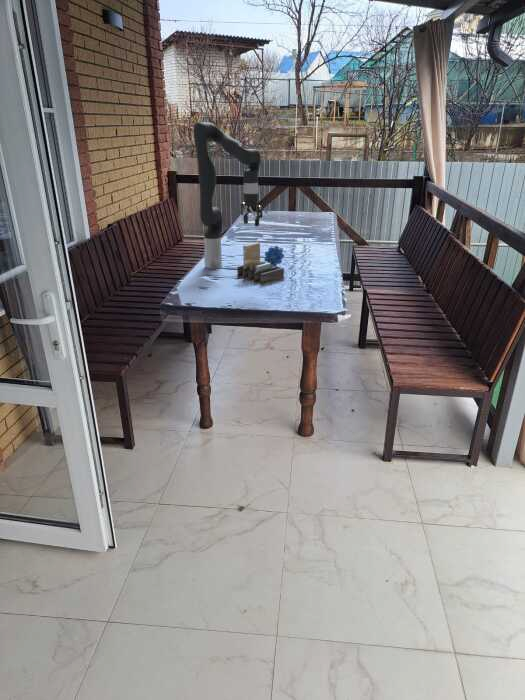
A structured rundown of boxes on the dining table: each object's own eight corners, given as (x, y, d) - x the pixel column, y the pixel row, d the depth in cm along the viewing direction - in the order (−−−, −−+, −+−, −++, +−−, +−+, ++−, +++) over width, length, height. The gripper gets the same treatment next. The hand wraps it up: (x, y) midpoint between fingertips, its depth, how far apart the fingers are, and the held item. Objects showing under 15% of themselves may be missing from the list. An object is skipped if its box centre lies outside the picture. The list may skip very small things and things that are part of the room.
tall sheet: (243, 275, 261) (243, 245, 254) (257, 271, 267) (257, 242, 260) (246, 276, 259) (245, 246, 252) (260, 272, 265) (259, 243, 258)
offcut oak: (250, 277, 258) (249, 264, 255) (262, 273, 263) (262, 260, 260) (252, 277, 257) (252, 264, 254) (265, 274, 262) (265, 261, 259)
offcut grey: (255, 278, 255) (255, 265, 252) (268, 275, 261) (268, 262, 257) (258, 279, 254) (258, 266, 251) (270, 276, 259) (270, 263, 256)
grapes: (285, 265, 283) (286, 244, 278) (283, 268, 278) (283, 247, 272) (266, 263, 286) (266, 243, 281) (263, 266, 280) (263, 246, 275)
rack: (234, 278, 261) (233, 266, 258) (259, 271, 272) (258, 260, 269) (262, 287, 246) (262, 275, 244) (287, 280, 258) (287, 268, 255)
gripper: (236, 191, 247) (236, 223, 254) (254, 194, 238) (255, 227, 245) (247, 189, 252) (247, 221, 259) (266, 192, 242) (266, 225, 249)
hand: (251, 224), depth 252 cm, fingers open, 8 cm apart
